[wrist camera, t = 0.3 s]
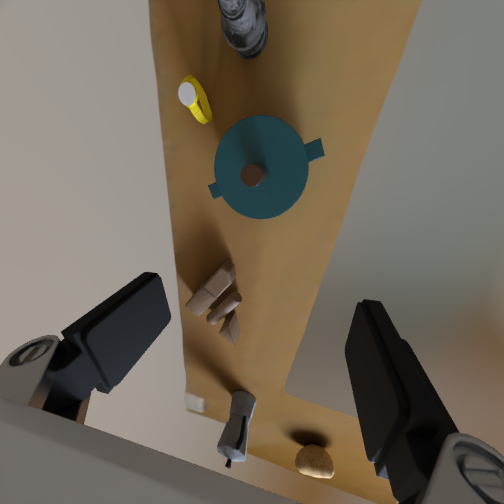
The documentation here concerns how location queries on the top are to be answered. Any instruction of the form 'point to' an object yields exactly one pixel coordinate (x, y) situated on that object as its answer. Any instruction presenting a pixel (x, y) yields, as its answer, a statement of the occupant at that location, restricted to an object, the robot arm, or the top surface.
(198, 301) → the wooden block set
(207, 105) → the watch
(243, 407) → the coffeepot
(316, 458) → the potato
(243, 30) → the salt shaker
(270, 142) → the pan lid
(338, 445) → the top surface
